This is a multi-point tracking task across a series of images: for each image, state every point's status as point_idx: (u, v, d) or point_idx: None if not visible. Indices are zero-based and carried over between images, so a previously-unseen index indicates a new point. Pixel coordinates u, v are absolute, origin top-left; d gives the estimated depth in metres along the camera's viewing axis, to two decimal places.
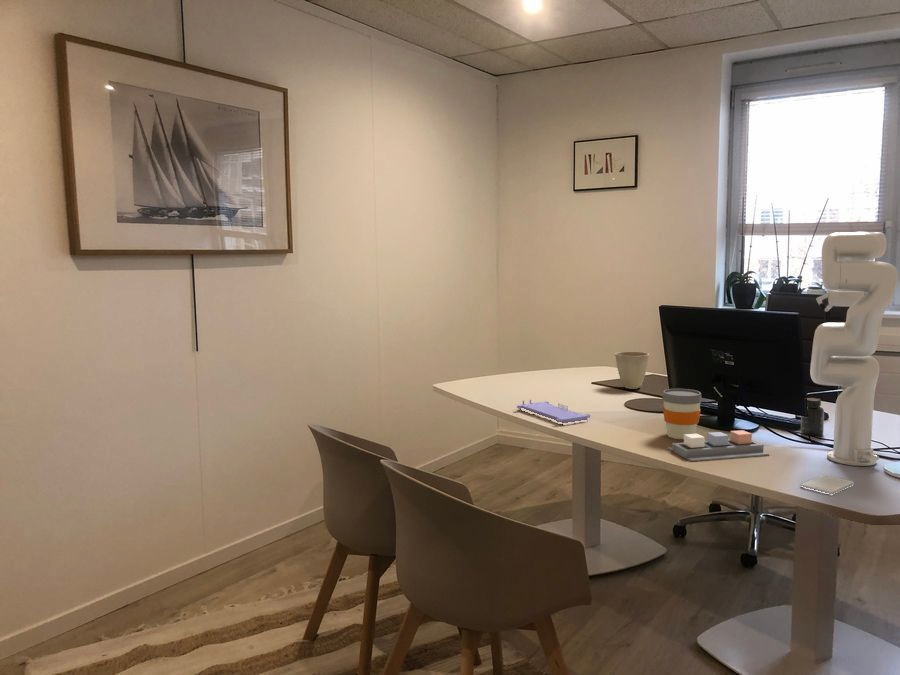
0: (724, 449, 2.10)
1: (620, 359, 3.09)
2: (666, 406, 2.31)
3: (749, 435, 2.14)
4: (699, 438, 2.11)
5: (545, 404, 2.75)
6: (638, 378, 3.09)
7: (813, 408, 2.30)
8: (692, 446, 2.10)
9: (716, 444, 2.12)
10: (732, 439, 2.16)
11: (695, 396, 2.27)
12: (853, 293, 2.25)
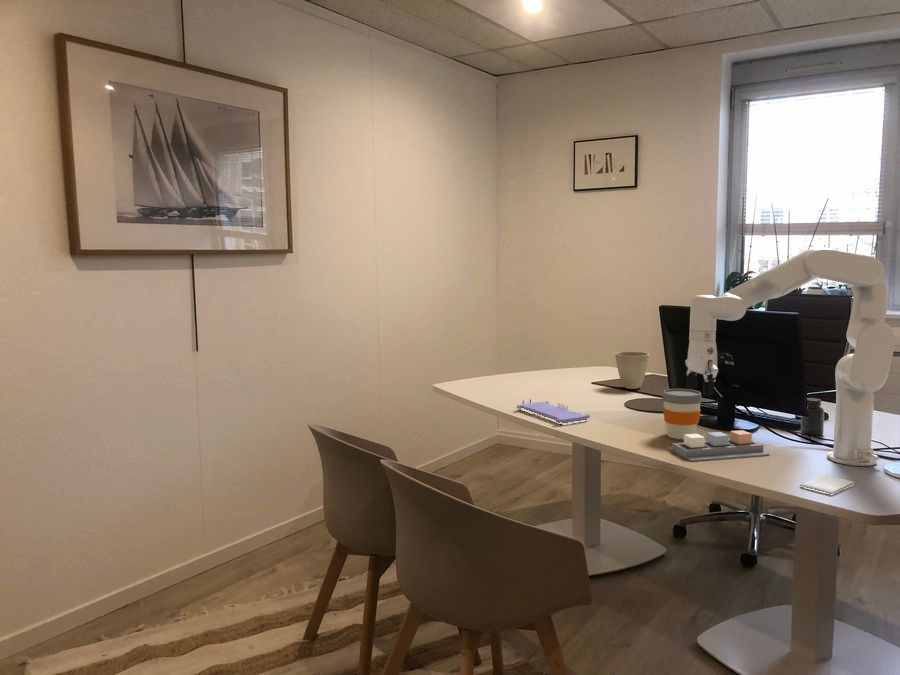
0: (724, 449, 2.10)
1: (620, 359, 3.09)
2: (666, 406, 2.31)
3: (749, 435, 2.14)
4: (699, 438, 2.11)
5: (545, 404, 2.75)
6: (638, 378, 3.09)
7: (813, 408, 2.30)
8: (692, 446, 2.10)
9: (716, 444, 2.12)
10: (732, 439, 2.16)
11: (695, 396, 2.27)
12: None
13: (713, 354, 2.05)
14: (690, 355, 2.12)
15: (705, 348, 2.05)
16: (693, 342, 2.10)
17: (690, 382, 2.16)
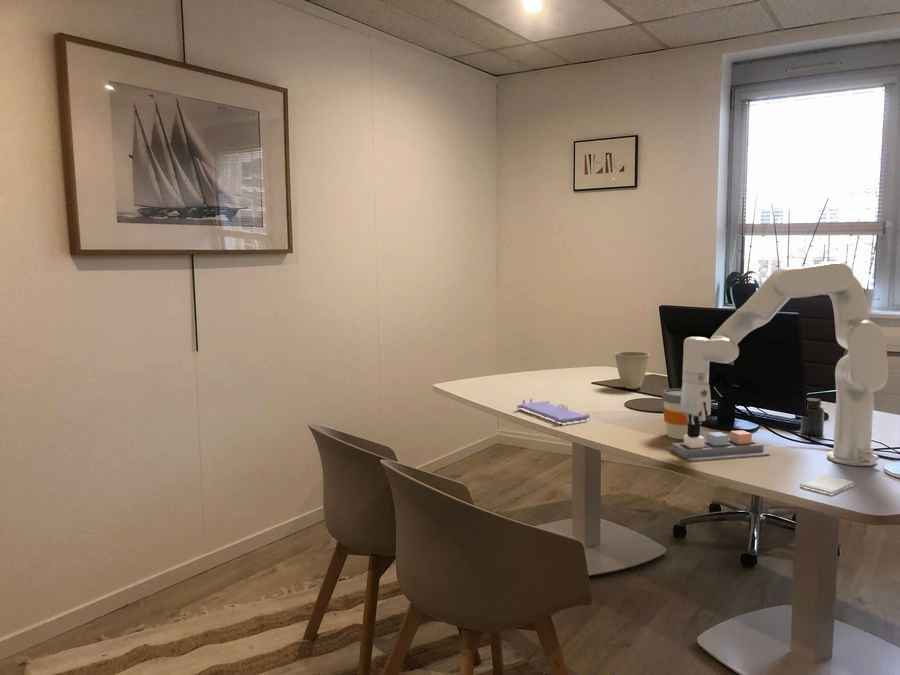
0: (724, 449, 2.10)
1: (620, 359, 3.09)
2: (666, 406, 2.31)
3: (749, 435, 2.14)
4: (699, 438, 2.11)
5: (545, 404, 2.75)
6: (638, 378, 3.09)
7: (813, 408, 2.30)
8: (692, 446, 2.10)
9: (716, 444, 2.12)
10: (732, 439, 2.16)
11: None
12: None
13: (707, 396, 2.06)
14: (683, 396, 2.13)
15: (699, 390, 2.06)
16: (686, 384, 2.11)
17: None
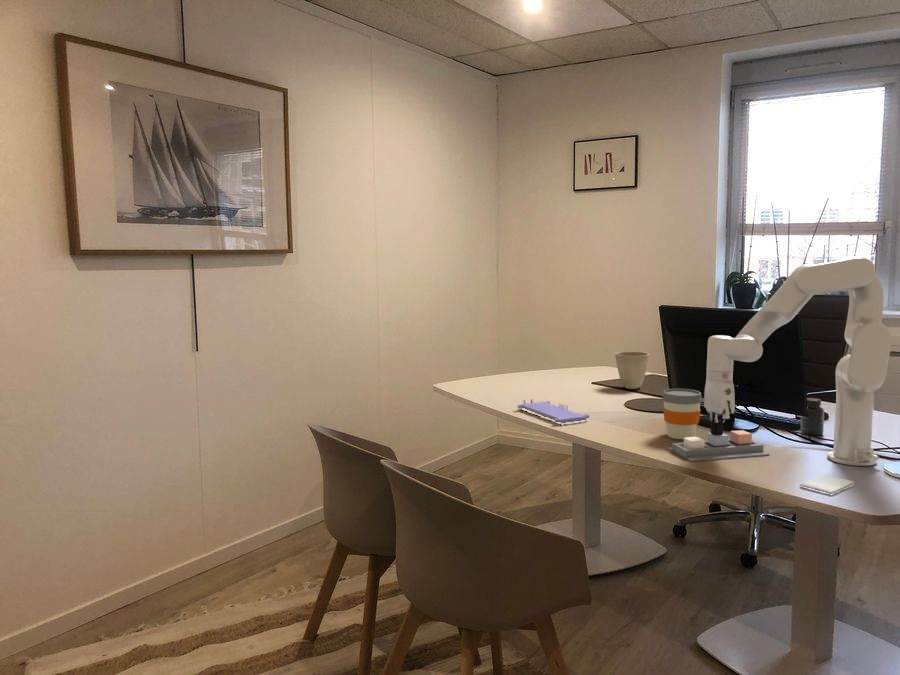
0: (724, 449, 2.10)
1: (620, 359, 3.09)
2: (666, 406, 2.31)
3: (749, 435, 2.14)
4: (699, 441, 2.11)
5: (546, 404, 2.75)
6: (638, 378, 3.09)
7: (813, 408, 2.30)
8: None
9: (716, 444, 2.12)
10: (732, 439, 2.16)
11: (695, 396, 2.27)
12: None
13: (731, 394, 2.08)
14: (707, 394, 2.14)
15: (723, 389, 2.08)
16: (710, 382, 2.12)
17: None
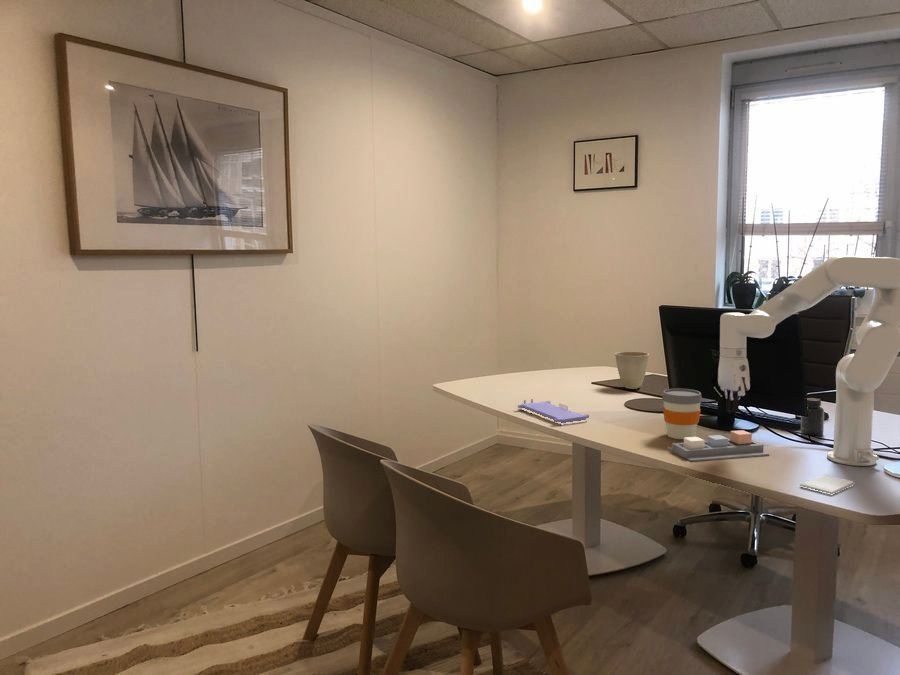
0: (724, 449, 2.10)
1: (620, 359, 3.09)
2: (666, 406, 2.31)
3: (749, 435, 2.14)
4: (699, 441, 2.11)
5: (546, 404, 2.75)
6: (638, 378, 3.09)
7: (813, 408, 2.30)
8: None
9: None
10: (732, 439, 2.16)
11: (695, 396, 2.27)
12: None
13: (745, 371, 2.08)
14: (721, 372, 2.14)
15: (737, 365, 2.07)
16: (724, 359, 2.12)
17: None
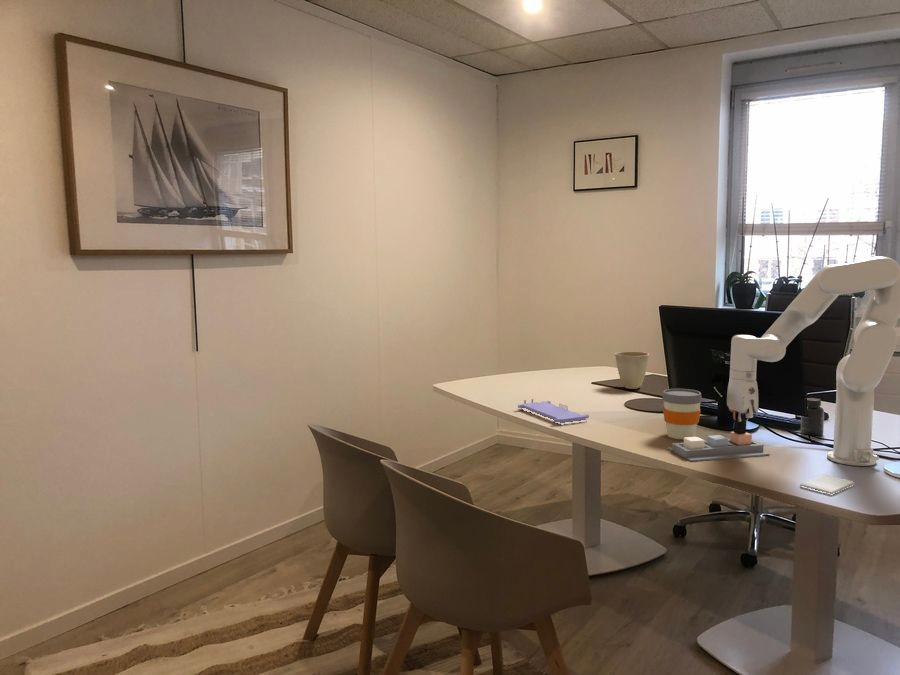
0: (724, 449, 2.10)
1: (620, 359, 3.09)
2: (666, 406, 2.31)
3: (749, 436, 2.14)
4: (699, 441, 2.11)
5: (546, 404, 2.75)
6: (638, 378, 3.09)
7: (813, 408, 2.30)
8: None
9: None
10: (732, 440, 2.16)
11: (695, 396, 2.27)
12: None
13: (754, 394, 2.09)
14: (730, 393, 2.16)
15: (747, 388, 2.09)
16: (734, 381, 2.14)
17: None
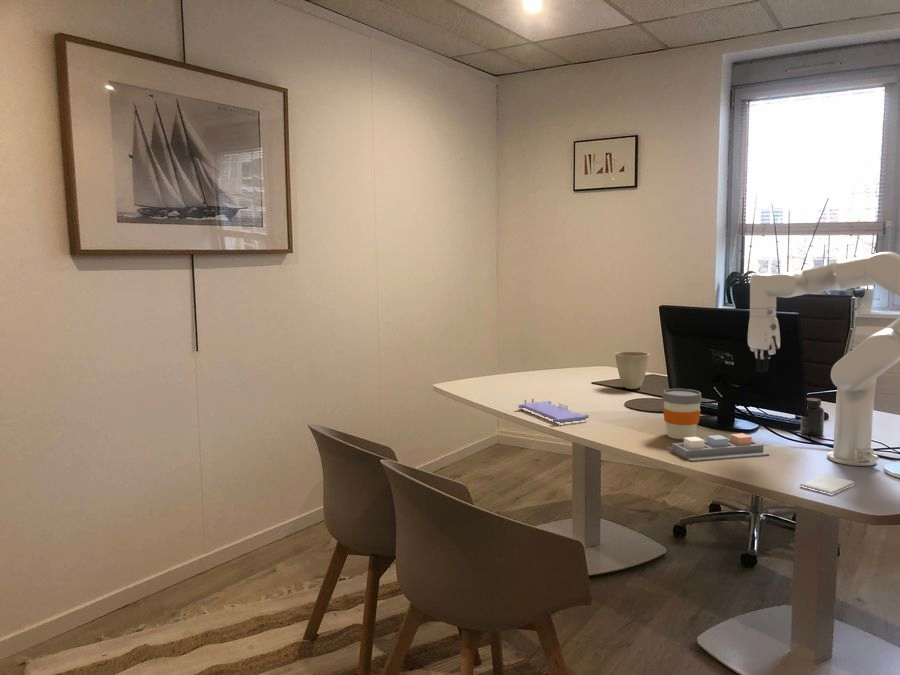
0: (724, 449, 2.10)
1: (620, 359, 3.09)
2: (666, 406, 2.31)
3: (749, 438, 2.14)
4: (699, 441, 2.11)
5: (547, 404, 2.75)
6: (638, 378, 3.09)
7: (813, 408, 2.30)
8: None
9: None
10: (732, 442, 2.17)
11: (695, 396, 2.27)
12: None
13: (776, 330, 2.12)
14: (751, 333, 2.19)
15: (768, 324, 2.12)
16: (754, 320, 2.17)
17: None
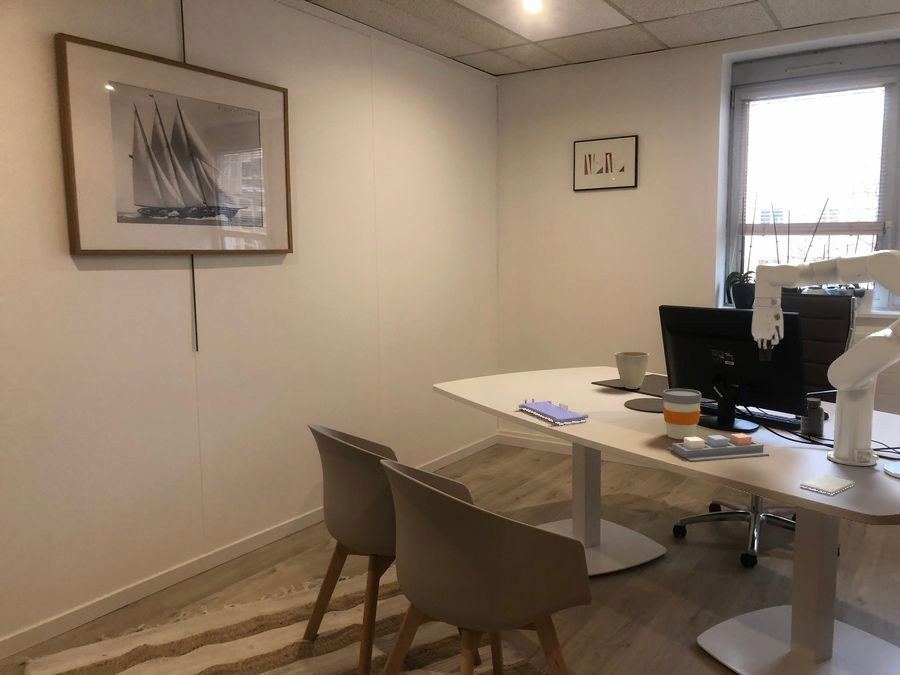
0: (724, 449, 2.10)
1: (620, 359, 3.09)
2: (666, 406, 2.31)
3: (749, 438, 2.14)
4: (699, 441, 2.11)
5: (547, 404, 2.75)
6: (638, 378, 3.09)
7: (813, 408, 2.30)
8: None
9: None
10: (732, 442, 2.17)
11: (695, 396, 2.27)
12: None
13: (780, 320, 2.14)
14: (755, 322, 2.20)
15: (772, 314, 2.13)
16: (759, 309, 2.18)
17: None
